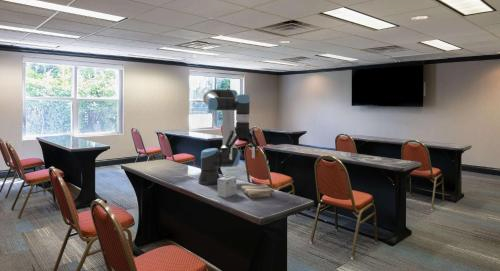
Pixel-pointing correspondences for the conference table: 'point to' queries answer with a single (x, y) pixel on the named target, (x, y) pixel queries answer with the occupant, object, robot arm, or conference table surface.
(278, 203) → the conference table surface
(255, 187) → the wavy wood-grain tile
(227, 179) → the light bulb box
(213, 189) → the conference table surface
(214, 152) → the robot arm
